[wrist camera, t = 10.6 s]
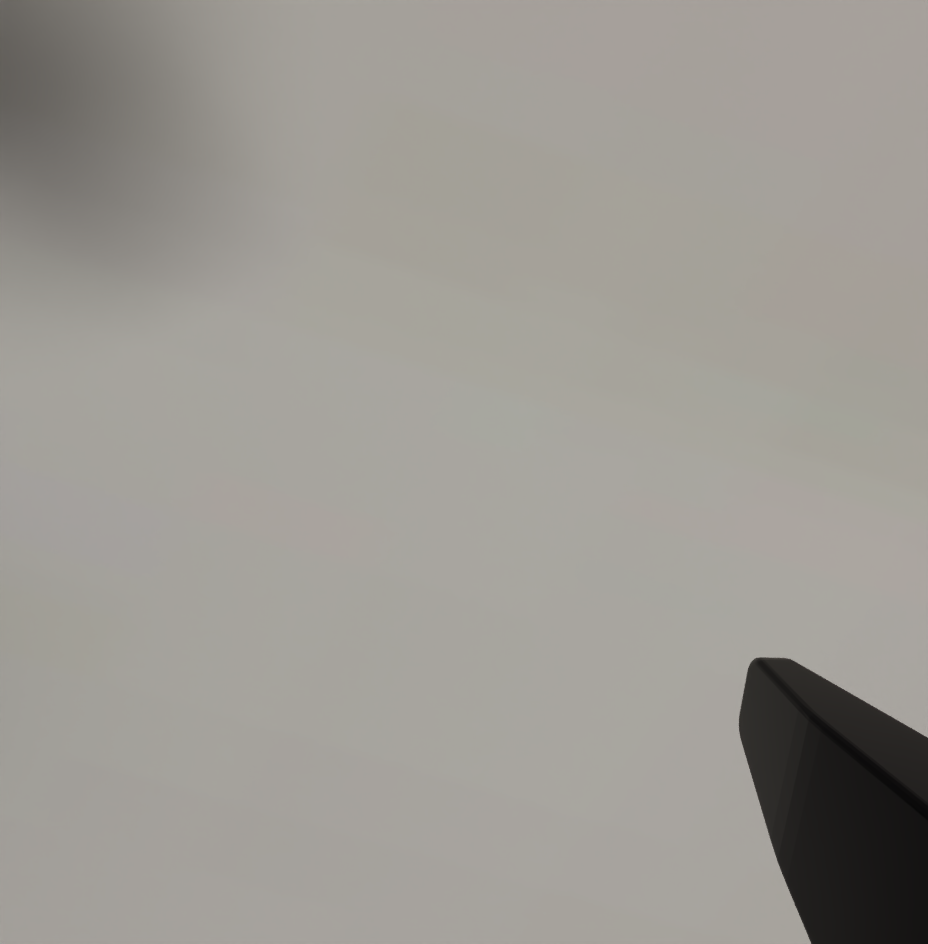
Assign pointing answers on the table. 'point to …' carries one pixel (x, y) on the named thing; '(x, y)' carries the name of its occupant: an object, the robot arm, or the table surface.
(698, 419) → the table surface
